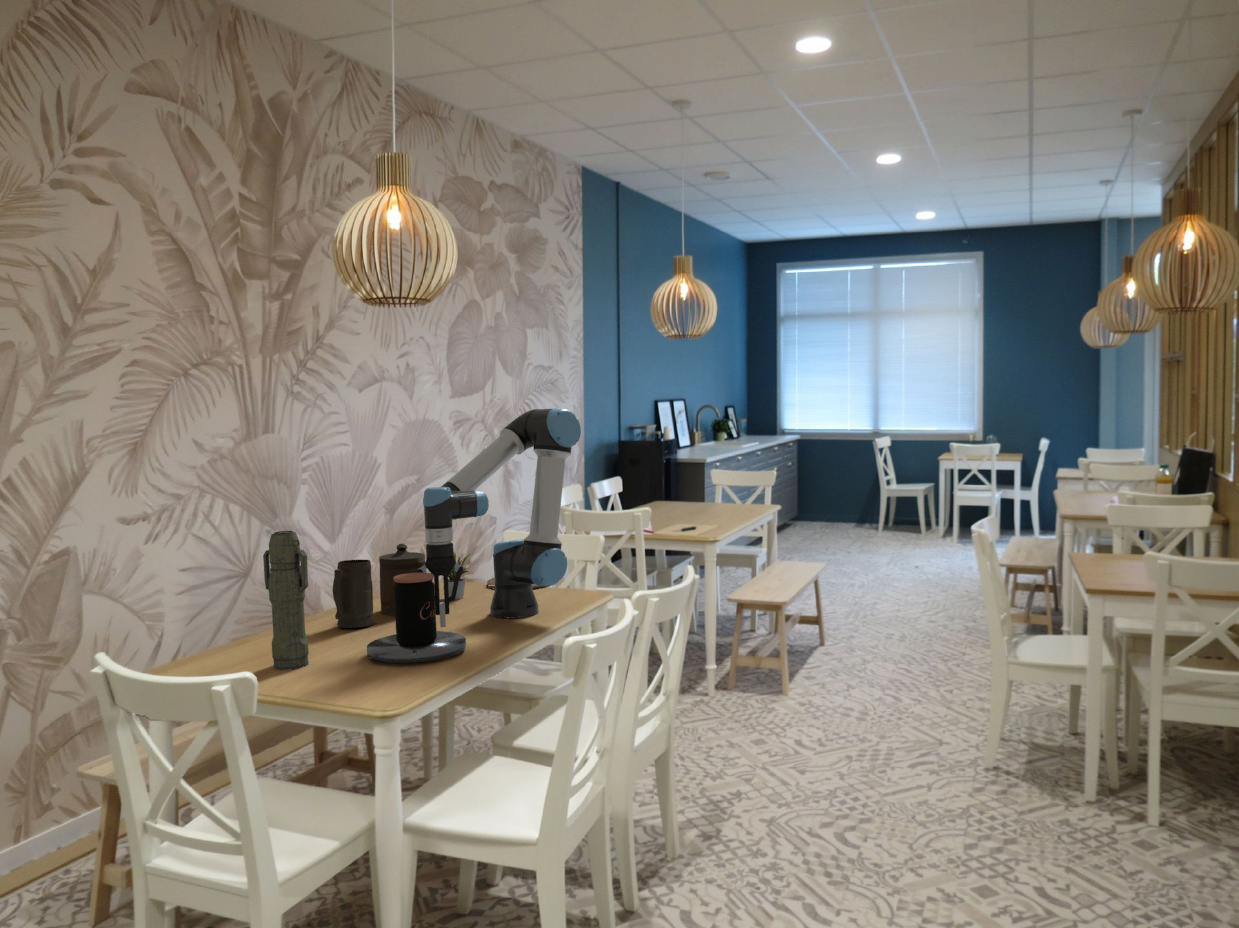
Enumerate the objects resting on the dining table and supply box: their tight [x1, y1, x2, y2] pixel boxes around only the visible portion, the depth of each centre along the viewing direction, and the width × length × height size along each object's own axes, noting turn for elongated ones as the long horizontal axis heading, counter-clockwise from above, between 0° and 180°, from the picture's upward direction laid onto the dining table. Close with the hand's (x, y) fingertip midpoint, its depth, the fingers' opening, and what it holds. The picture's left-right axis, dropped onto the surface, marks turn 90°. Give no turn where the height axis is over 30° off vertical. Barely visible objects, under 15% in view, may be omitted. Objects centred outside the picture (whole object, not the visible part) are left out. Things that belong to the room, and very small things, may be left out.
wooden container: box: [379, 543, 426, 616], centre depth 319 cm, size 15×15×22 cm
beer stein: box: [332, 559, 374, 629], centre depth 298 cm, size 15×11×20 cm
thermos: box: [262, 530, 309, 671], centre depth 255 cm, size 9×12×35 cm
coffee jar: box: [393, 572, 437, 647], centre depth 263 cm, size 11×11×18 cm
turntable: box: [366, 630, 467, 664], centre depth 264 cm, size 26×26×7 cm
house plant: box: [448, 552, 475, 600], centre depth 339 cm, size 14×14×16 cm
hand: (443, 625), depth 276 cm, fingers closed
